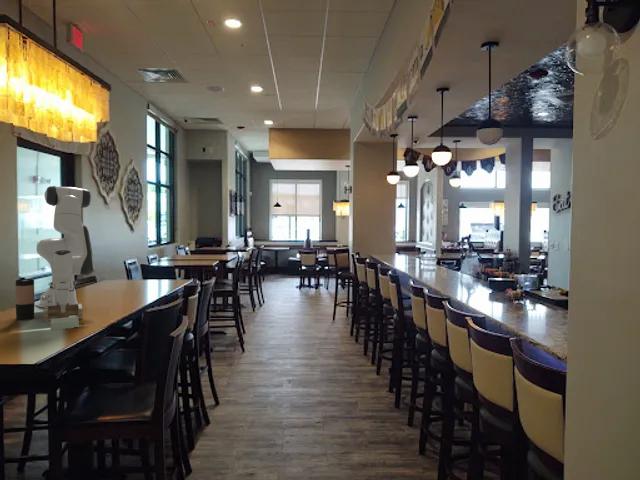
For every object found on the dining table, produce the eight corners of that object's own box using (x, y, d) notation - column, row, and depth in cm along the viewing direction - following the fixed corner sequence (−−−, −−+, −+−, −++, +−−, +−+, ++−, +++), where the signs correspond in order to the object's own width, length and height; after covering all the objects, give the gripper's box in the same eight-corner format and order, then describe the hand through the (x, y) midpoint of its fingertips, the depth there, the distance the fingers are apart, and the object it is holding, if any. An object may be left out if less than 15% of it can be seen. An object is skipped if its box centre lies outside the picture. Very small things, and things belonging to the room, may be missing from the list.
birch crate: (45, 317, 221) (45, 305, 221) (81, 314, 229) (81, 303, 229) (43, 324, 207) (43, 311, 207) (82, 320, 215) (82, 308, 215)
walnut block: (57, 315, 218) (57, 301, 218) (68, 314, 221) (68, 301, 220) (57, 317, 214) (57, 303, 214) (68, 316, 216) (68, 302, 216)
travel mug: (12, 321, 211) (11, 280, 211) (27, 318, 219) (27, 278, 218) (22, 323, 209) (22, 281, 208) (38, 319, 216) (37, 279, 215)
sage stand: (51, 325, 205) (51, 318, 205) (78, 322, 211) (78, 316, 211) (50, 330, 196) (50, 323, 196) (78, 327, 202) (78, 320, 201)
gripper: (55, 281, 224) (56, 307, 225) (55, 286, 206) (55, 315, 207) (70, 280, 227) (70, 306, 228) (70, 285, 210) (70, 314, 210)
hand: (63, 311), depth 217 cm, fingers closed on walnut block, 5 cm apart
